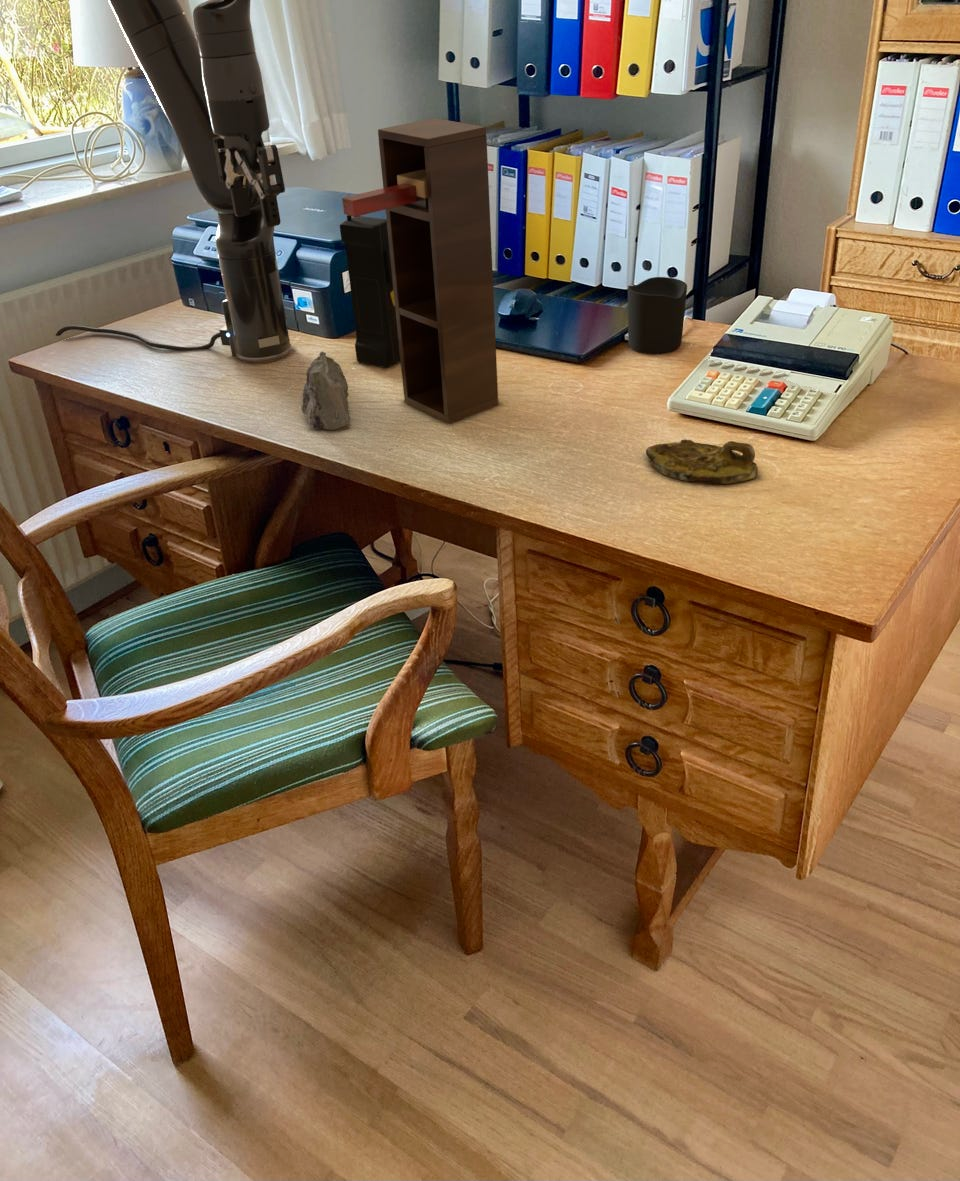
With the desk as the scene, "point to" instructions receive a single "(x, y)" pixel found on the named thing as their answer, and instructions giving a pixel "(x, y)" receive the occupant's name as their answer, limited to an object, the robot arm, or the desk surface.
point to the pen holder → (656, 315)
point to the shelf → (443, 268)
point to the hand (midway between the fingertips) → (257, 220)
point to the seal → (704, 461)
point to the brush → (390, 195)
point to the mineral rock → (325, 394)
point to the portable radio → (371, 290)
